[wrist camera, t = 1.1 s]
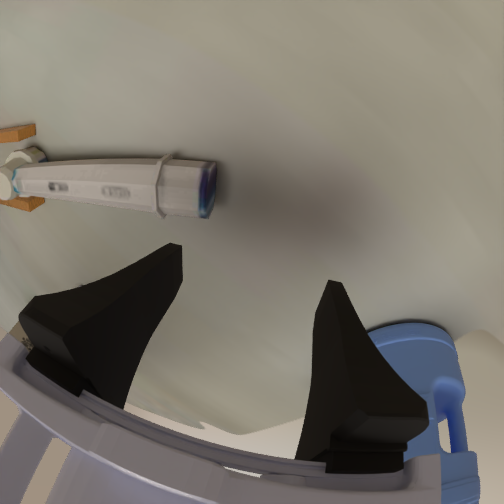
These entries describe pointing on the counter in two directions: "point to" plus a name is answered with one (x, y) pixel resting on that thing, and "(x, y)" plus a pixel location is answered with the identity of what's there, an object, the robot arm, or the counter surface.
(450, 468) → the water jug
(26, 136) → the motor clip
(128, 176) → the electric toothbrush
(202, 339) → the counter surface
